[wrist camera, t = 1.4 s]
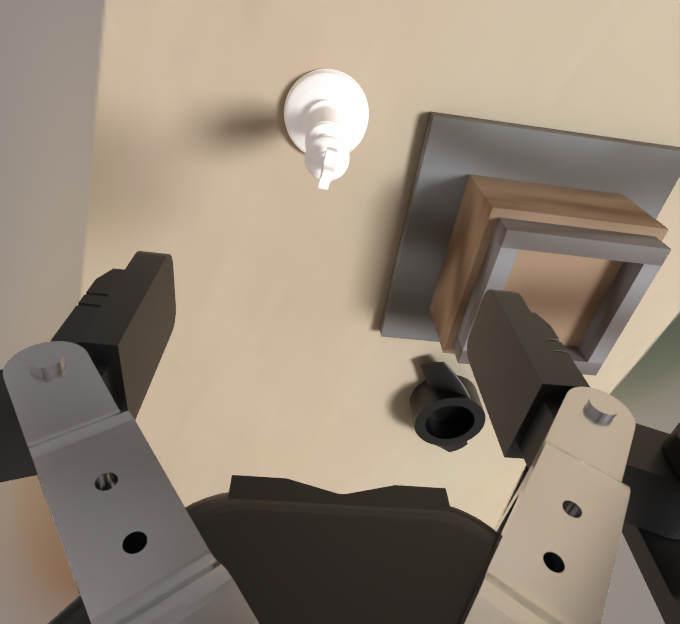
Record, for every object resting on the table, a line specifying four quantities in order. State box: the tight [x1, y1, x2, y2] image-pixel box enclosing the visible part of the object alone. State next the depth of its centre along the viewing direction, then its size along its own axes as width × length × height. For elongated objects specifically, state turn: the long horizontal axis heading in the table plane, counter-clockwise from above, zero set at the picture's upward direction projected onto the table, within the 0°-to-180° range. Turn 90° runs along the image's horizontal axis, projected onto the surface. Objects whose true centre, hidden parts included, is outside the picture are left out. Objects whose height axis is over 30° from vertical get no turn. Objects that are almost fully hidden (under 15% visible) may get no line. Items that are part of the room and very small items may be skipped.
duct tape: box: [410, 362, 485, 452], centre depth 41 cm, size 8×10×3 cm
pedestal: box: [380, 112, 680, 375], centre depth 31 cm, size 16×16×8 cm
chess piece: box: [284, 69, 369, 190], centre depth 24 cm, size 5×5×10 cm
